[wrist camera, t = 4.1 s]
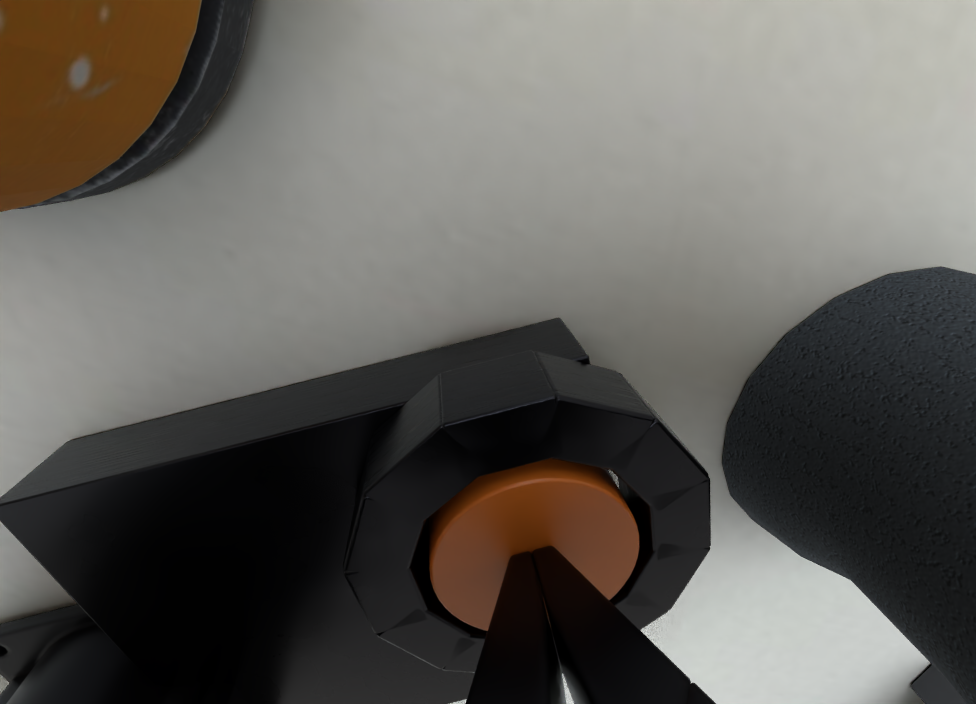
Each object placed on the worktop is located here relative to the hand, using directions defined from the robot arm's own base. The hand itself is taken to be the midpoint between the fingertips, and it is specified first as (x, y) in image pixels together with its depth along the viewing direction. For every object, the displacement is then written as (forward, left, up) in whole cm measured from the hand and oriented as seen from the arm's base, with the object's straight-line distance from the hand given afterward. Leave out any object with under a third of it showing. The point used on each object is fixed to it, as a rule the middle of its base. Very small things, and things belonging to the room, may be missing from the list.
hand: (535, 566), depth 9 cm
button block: (-4, -2, -4) cm, 6 cm away
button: (0, 0, -2) cm, 2 cm away
